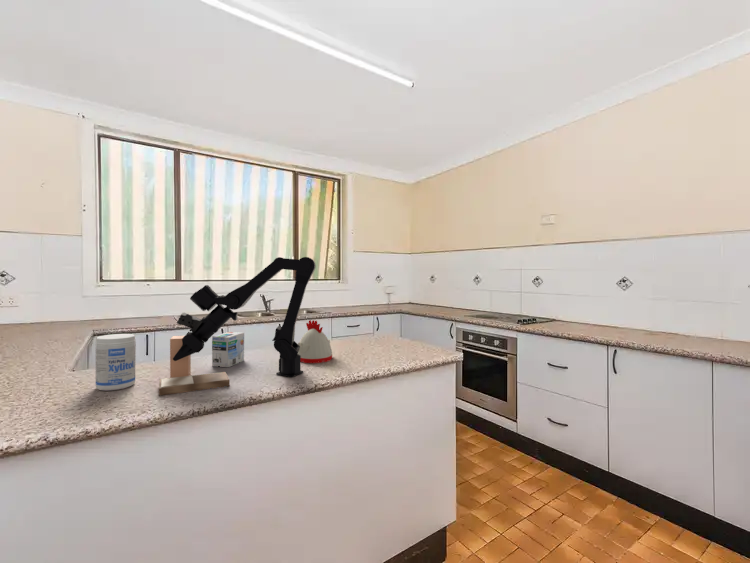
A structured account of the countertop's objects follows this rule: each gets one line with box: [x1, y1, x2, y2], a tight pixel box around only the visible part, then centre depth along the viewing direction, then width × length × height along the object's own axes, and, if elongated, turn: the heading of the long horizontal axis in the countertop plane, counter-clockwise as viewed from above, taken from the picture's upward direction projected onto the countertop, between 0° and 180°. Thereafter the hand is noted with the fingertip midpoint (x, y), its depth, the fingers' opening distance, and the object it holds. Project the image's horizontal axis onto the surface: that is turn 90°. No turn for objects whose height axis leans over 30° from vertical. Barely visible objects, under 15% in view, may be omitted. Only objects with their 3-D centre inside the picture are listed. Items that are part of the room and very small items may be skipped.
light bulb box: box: [211, 331, 245, 368], centre depth 134 cm, size 11×7×11 cm, turn 168°
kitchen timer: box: [297, 319, 333, 364], centre depth 143 cm, size 14×14×15 cm
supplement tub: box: [95, 333, 137, 391], centre depth 107 cm, size 10×10×15 cm
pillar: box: [169, 335, 192, 378], centre depth 116 cm, size 5×5×13 cm
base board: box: [158, 371, 231, 396], centre depth 108 cm, size 18×9×2 cm, turn 119°
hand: (175, 357), depth 115 cm, fingers open, 6 cm apart
